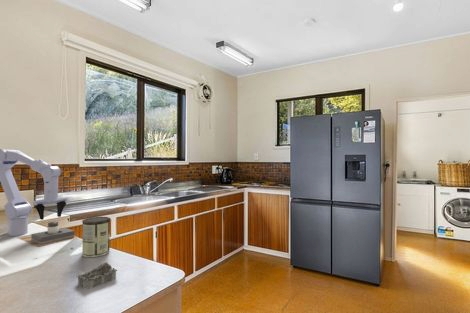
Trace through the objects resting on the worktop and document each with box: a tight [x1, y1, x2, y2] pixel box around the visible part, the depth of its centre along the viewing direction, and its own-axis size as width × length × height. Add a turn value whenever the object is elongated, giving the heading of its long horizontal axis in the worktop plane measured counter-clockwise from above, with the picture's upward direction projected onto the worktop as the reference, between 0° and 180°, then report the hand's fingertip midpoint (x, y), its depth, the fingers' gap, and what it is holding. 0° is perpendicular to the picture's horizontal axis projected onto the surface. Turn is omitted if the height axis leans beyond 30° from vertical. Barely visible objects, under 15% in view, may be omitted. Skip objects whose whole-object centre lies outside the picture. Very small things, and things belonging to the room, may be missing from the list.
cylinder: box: [47, 221, 60, 235], centre depth 126 cm, size 4×4×6 cm
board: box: [16, 234, 80, 248], centre depth 128 cm, size 24×17×1 cm
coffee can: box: [81, 216, 111, 258], centre depth 111 cm, size 10×10×14 cm
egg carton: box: [76, 261, 118, 289], centre depth 86 cm, size 11×8×4 cm
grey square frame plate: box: [30, 227, 75, 244], centre depth 127 cm, size 14×10×3 cm
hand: (50, 217), depth 133 cm, fingers open, 7 cm apart
